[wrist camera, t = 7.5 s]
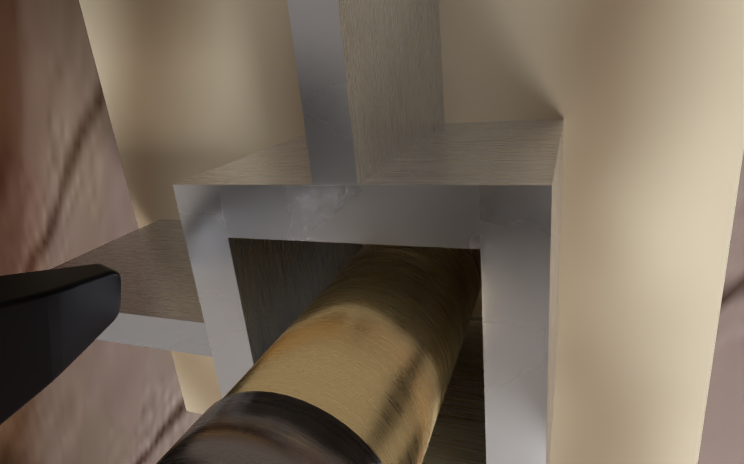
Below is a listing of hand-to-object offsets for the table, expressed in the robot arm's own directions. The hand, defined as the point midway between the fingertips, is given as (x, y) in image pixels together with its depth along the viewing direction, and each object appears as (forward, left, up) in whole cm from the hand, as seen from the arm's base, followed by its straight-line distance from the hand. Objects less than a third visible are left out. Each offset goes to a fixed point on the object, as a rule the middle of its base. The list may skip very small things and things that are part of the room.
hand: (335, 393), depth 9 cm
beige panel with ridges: (+2, -2, -8) cm, 9 cm away
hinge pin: (0, 0, -7) cm, 7 cm away
